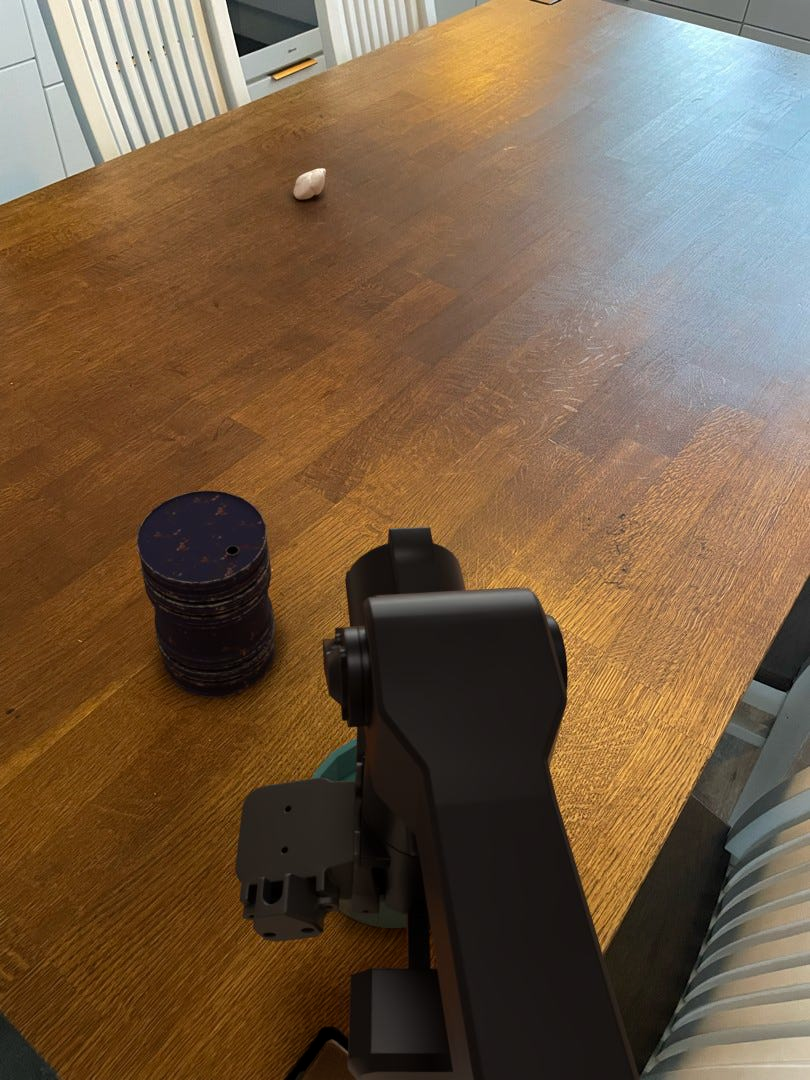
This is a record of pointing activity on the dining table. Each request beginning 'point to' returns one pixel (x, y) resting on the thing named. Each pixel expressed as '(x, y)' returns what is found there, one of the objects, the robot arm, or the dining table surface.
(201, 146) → the dining table surface
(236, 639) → the dark blue cylinder
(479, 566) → the dining table surface
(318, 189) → the dumpling
